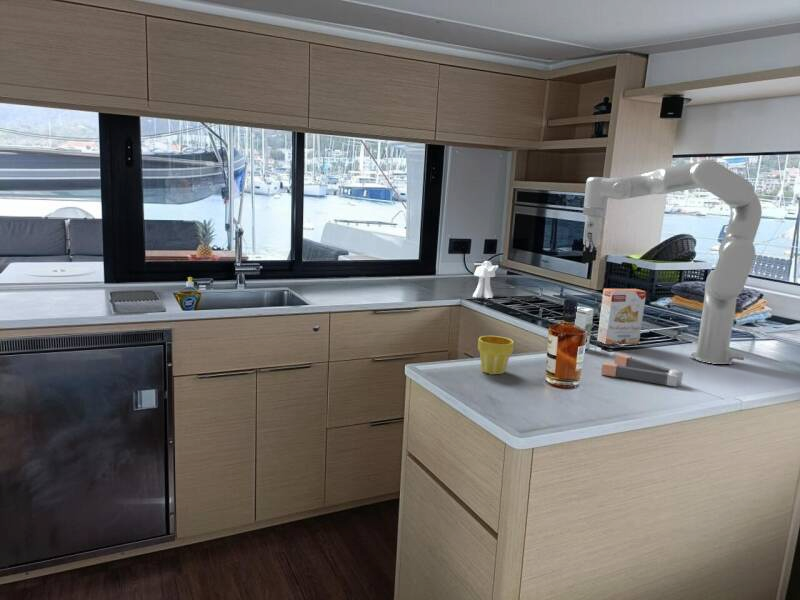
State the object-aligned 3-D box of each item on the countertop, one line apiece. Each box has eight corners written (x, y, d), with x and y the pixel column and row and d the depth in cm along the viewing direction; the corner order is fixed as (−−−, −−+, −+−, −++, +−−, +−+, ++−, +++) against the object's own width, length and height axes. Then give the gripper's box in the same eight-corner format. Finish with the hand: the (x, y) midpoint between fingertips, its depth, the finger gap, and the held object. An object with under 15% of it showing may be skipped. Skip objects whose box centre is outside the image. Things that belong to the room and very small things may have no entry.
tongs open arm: (672, 379, 177) (673, 369, 177) (666, 380, 176) (668, 370, 175) (619, 363, 192) (621, 353, 191) (614, 364, 190) (615, 354, 190)
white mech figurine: (464, 295, 303) (466, 260, 299) (484, 293, 310) (486, 259, 307) (479, 299, 293) (482, 263, 290) (500, 298, 300) (503, 262, 297)
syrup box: (573, 345, 213) (577, 305, 210) (589, 349, 209) (594, 308, 206) (566, 348, 208) (571, 307, 206) (583, 352, 205) (587, 310, 202)
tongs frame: (680, 384, 174) (682, 370, 174) (680, 388, 170) (682, 375, 169) (603, 371, 183) (604, 358, 183) (601, 375, 179) (602, 362, 178)
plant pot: (518, 372, 177) (520, 341, 176) (496, 379, 170) (499, 346, 169) (490, 364, 185) (492, 333, 183) (468, 370, 178) (471, 338, 176)
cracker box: (605, 349, 210) (612, 290, 206) (595, 344, 215) (602, 287, 211) (639, 348, 213) (647, 291, 210) (629, 344, 219) (636, 287, 215)
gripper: (602, 214, 200) (596, 264, 203) (608, 213, 215) (603, 260, 219) (579, 212, 203) (573, 262, 206) (587, 211, 218) (582, 258, 222)
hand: (588, 261), depth 212 cm, fingers open, 9 cm apart
